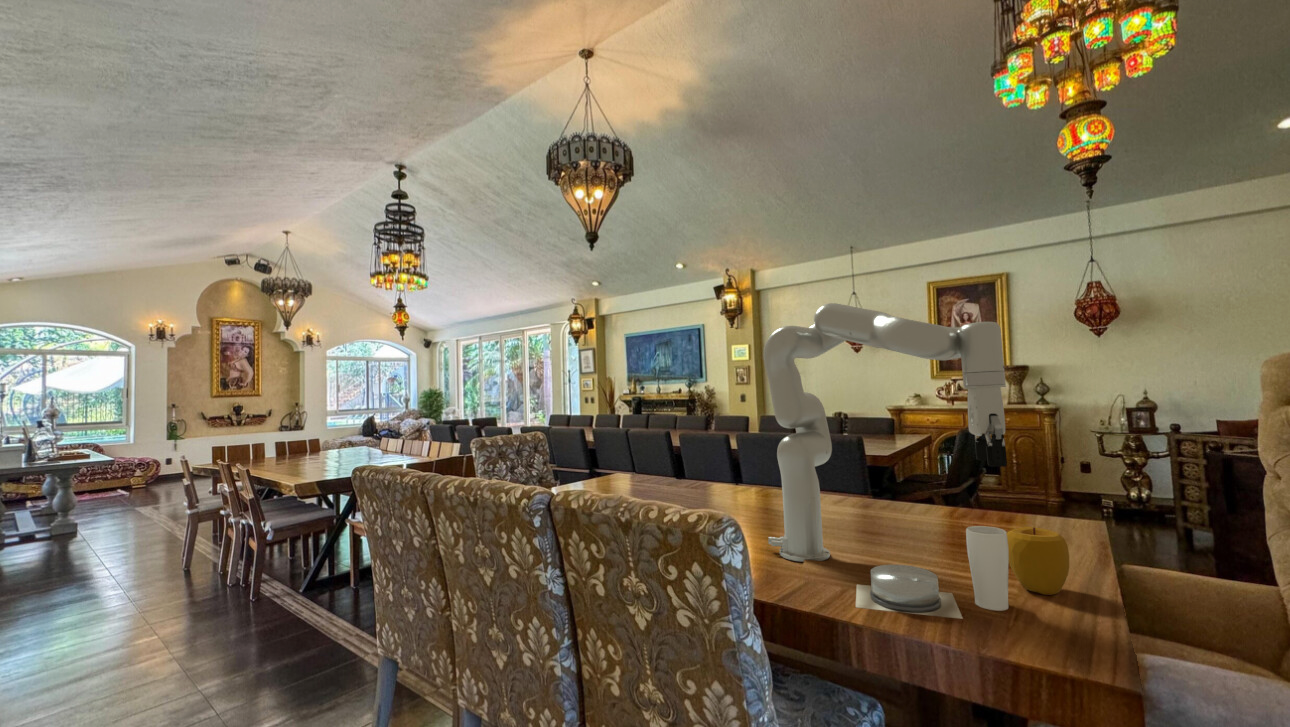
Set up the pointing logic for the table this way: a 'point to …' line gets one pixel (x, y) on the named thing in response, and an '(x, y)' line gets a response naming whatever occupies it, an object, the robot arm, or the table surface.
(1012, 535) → the apple
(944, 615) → the board
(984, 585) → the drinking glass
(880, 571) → the grey short round cylinder
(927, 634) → the table surface
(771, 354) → the robot arm
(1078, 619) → the table surface
